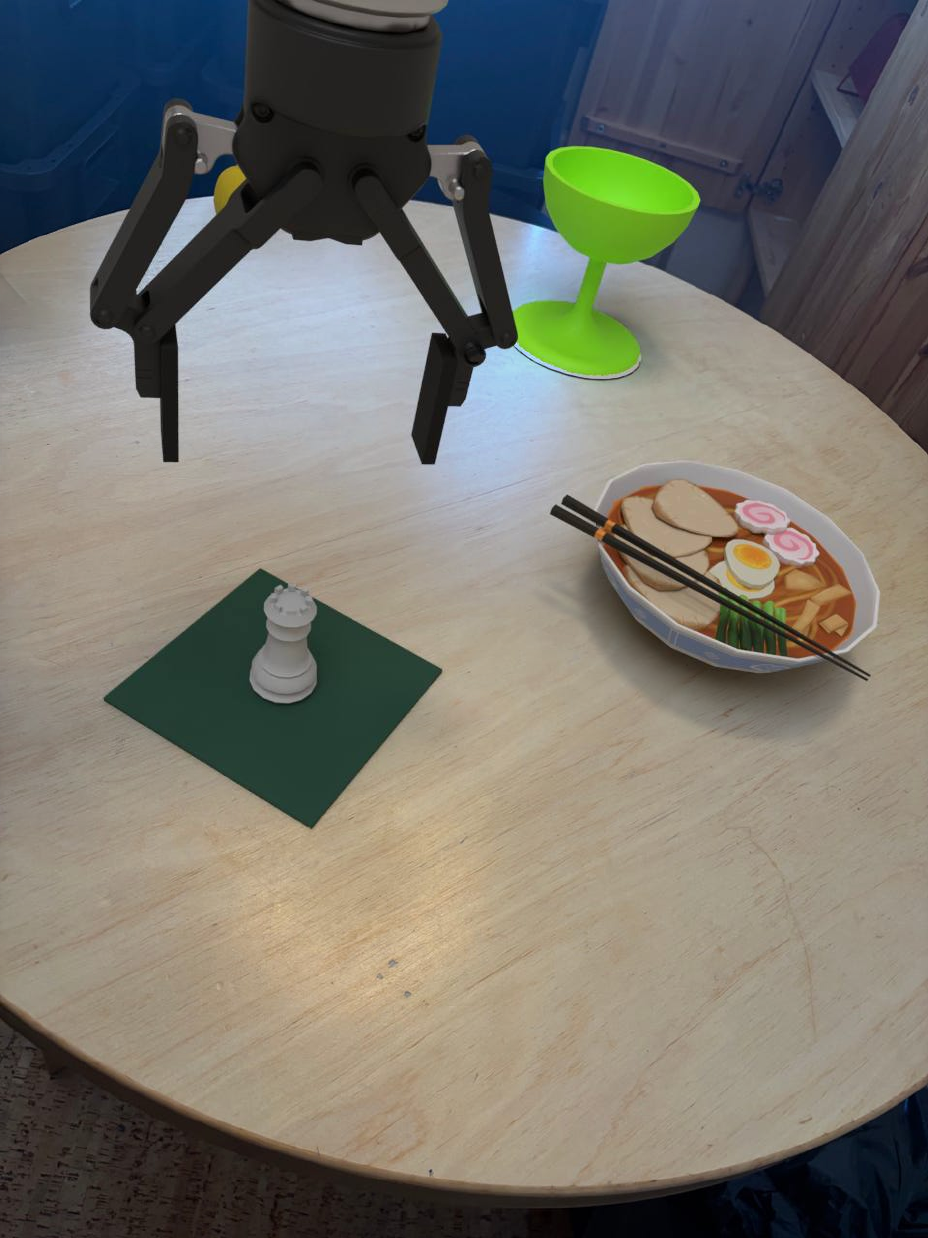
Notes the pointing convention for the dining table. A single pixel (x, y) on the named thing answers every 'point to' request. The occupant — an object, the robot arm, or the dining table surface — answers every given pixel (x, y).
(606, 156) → the wineglass
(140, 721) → the mat
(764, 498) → the ramen bowl
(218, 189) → the lemon
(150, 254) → the robot arm
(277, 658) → the rook chess piece
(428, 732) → the dining table surface
